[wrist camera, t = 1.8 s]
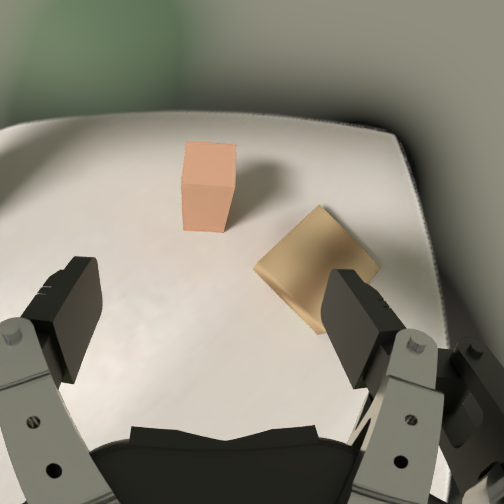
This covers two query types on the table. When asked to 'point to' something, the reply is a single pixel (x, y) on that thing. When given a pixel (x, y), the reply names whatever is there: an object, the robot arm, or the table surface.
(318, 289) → the base slab
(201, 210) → the block
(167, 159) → the table surface
